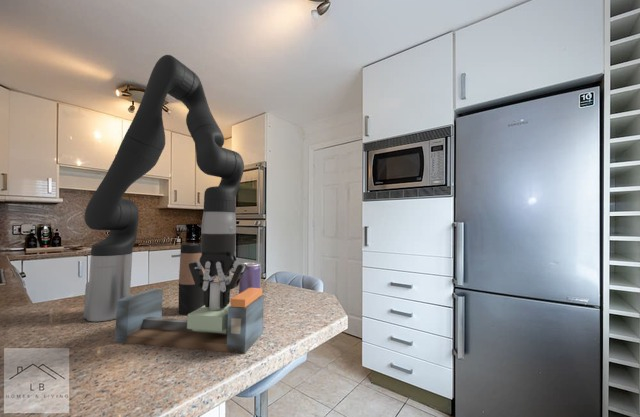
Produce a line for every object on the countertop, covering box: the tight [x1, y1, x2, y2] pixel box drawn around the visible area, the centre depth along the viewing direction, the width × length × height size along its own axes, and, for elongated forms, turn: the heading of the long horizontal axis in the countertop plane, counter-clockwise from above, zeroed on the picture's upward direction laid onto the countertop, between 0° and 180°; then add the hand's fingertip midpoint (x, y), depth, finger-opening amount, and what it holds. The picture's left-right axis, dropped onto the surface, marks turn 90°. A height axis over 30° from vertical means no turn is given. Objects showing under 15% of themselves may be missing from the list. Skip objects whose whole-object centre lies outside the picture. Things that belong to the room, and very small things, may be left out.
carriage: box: [186, 280, 231, 333], centre depth 59 cm, size 8×9×10 cm
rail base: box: [114, 288, 265, 354], centre depth 59 cm, size 30×10×9 cm, turn 82°
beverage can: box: [238, 262, 262, 294], centre depth 72 cm, size 6×6×15 cm
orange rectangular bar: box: [230, 287, 263, 308], centre depth 58 cm, size 3×10×2 cm, turn 172°
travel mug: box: [177, 242, 205, 316], centre depth 77 cm, size 8×8×20 cm
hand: (216, 306), depth 59 cm, fingers closed on carriage, 3 cm apart
